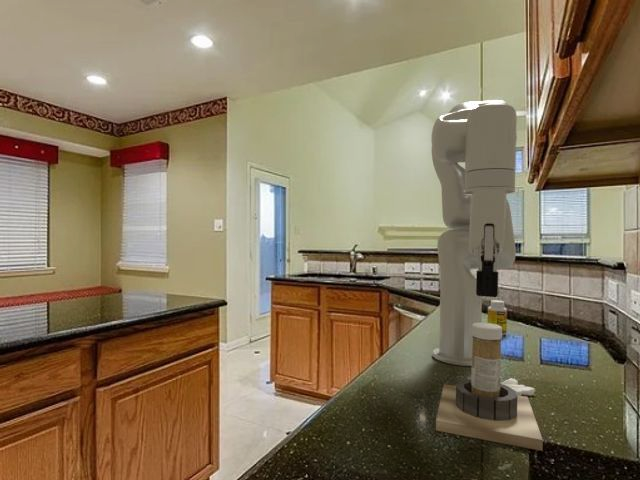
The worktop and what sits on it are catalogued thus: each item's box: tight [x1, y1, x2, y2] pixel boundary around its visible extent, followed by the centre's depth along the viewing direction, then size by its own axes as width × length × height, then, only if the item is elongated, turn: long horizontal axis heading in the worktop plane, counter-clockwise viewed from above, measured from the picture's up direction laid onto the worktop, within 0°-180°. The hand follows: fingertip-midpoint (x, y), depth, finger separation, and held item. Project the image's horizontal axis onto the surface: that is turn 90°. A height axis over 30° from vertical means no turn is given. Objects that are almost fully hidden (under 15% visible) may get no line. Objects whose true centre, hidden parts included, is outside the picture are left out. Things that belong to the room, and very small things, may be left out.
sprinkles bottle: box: [470, 322, 503, 398], centre depth 63 cm, size 5×5×14 cm
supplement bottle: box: [487, 299, 508, 336], centre depth 122 cm, size 6×6×10 cm
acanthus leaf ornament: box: [500, 377, 536, 396], centre depth 75 cm, size 8×7×2 cm
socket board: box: [435, 378, 544, 452], centre depth 63 cm, size 16×14×4 cm
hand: (486, 295), depth 63 cm, fingers closed
